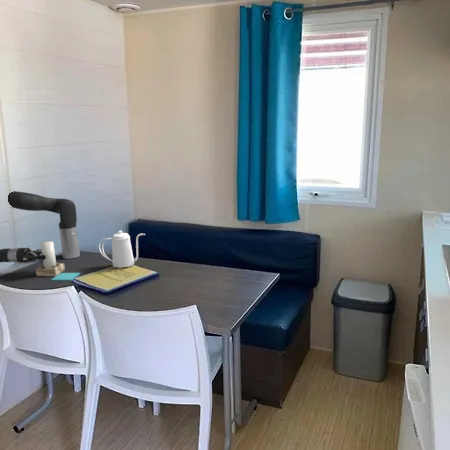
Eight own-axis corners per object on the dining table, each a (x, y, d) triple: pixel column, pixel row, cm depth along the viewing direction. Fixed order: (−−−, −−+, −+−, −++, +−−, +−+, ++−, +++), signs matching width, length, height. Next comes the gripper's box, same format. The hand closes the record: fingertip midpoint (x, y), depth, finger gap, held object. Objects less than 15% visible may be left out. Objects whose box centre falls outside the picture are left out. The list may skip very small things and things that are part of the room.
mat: (61, 274, 227) (61, 272, 227) (80, 273, 226) (79, 272, 226) (51, 280, 217) (51, 279, 217) (71, 280, 216) (70, 279, 216)
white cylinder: (48, 271, 233) (44, 241, 230) (59, 270, 232) (55, 240, 229) (42, 274, 227) (38, 244, 224) (53, 274, 227) (49, 243, 223)
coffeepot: (145, 268, 229) (141, 232, 225) (97, 269, 232) (93, 233, 228) (150, 262, 240) (147, 227, 236) (105, 263, 243) (101, 228, 239)
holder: (46, 269, 235) (46, 263, 235) (65, 269, 234) (64, 263, 233) (36, 276, 226) (35, 269, 225) (55, 276, 224) (54, 269, 224)
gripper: (10, 251, 222) (41, 251, 220) (26, 244, 236) (55, 244, 234) (12, 266, 224) (43, 266, 222) (28, 258, 238) (57, 257, 236)
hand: (49, 254), depth 228 cm, fingers open, 8 cm apart
